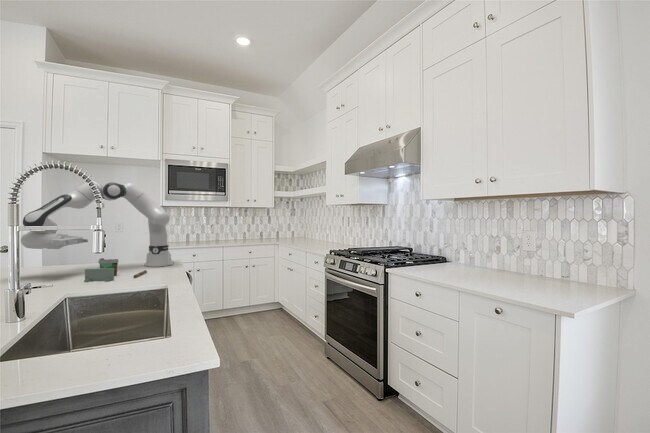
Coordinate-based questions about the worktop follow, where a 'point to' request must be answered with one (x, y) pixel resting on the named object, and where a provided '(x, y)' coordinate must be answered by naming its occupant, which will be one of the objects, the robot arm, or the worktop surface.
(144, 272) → the rail
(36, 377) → the worktop surface
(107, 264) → the food container
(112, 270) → the screen
